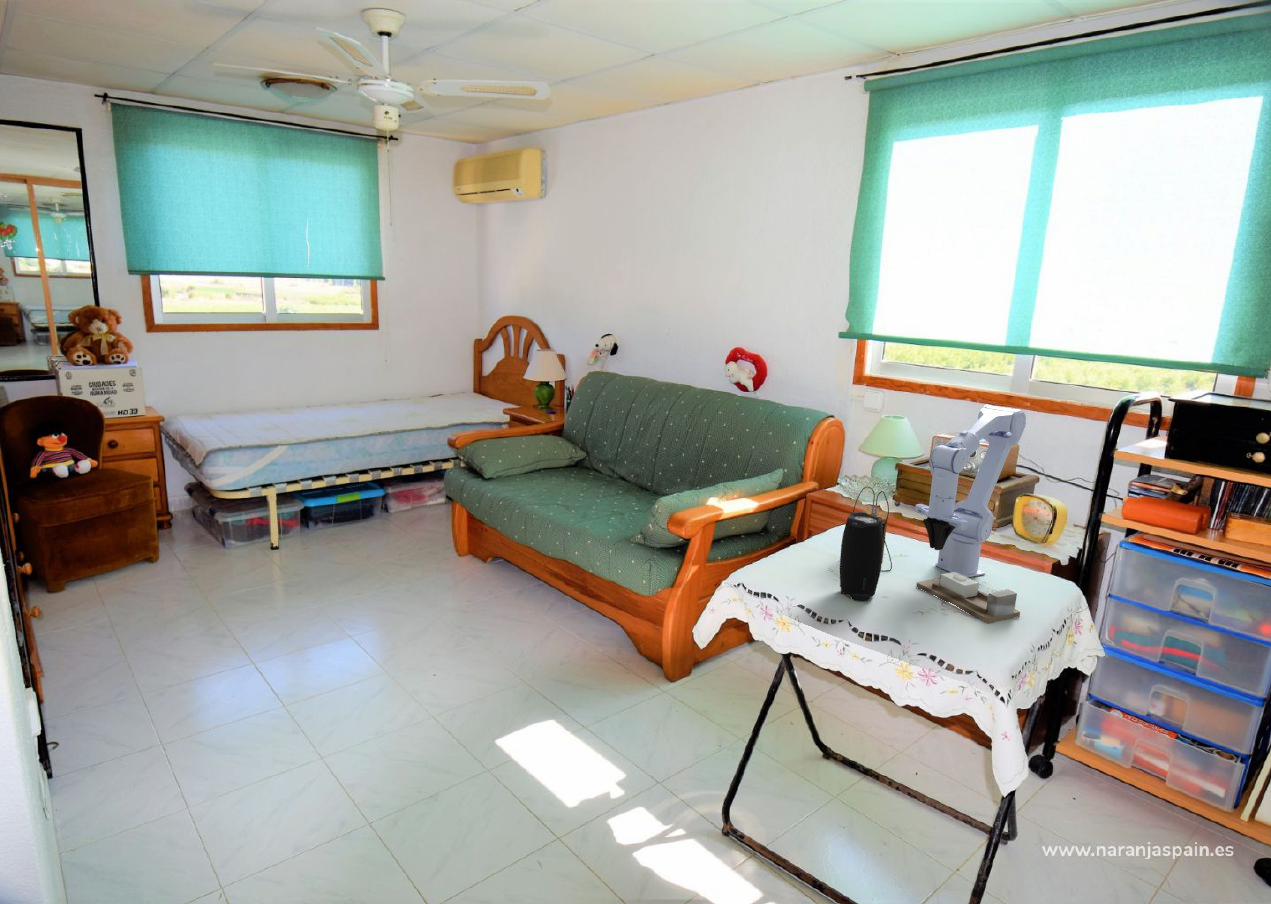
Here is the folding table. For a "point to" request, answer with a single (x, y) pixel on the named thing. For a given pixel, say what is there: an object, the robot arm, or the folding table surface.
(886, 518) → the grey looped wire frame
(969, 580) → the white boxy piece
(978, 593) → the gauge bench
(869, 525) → the portable speaker
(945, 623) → the folding table surface
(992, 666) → the folding table surface
